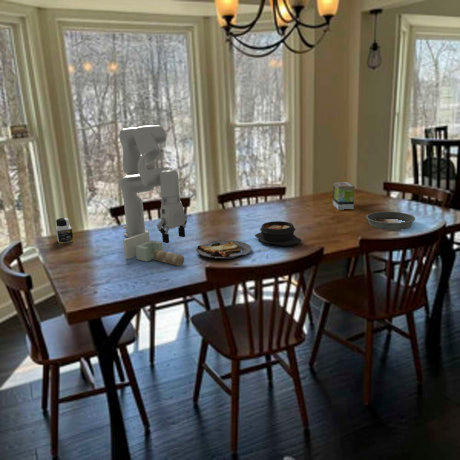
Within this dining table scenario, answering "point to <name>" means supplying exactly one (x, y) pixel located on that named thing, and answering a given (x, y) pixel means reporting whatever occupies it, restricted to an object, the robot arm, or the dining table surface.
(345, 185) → the tea box
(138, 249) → the block
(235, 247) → the food plate
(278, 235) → the casserole
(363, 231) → the dining table surface
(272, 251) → the dining table surface
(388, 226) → the cake pan
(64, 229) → the black and yellow box
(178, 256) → the dowel
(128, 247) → the base
